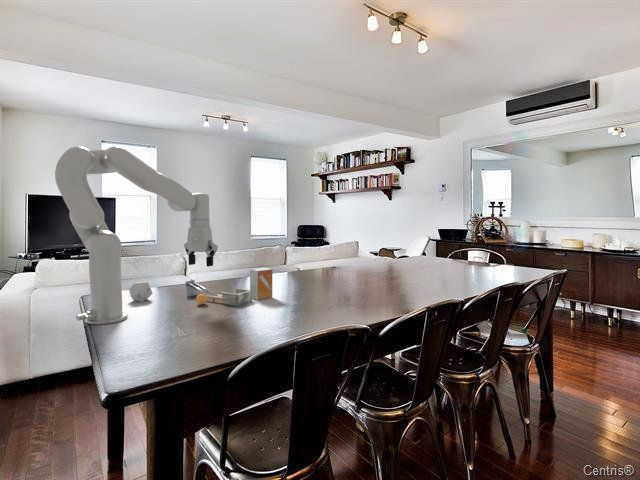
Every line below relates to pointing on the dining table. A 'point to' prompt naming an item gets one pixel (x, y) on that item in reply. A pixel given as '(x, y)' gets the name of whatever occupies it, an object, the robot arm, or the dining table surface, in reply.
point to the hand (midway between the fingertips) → (200, 265)
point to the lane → (232, 297)
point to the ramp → (197, 289)
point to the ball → (201, 299)
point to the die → (140, 291)
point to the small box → (261, 283)
